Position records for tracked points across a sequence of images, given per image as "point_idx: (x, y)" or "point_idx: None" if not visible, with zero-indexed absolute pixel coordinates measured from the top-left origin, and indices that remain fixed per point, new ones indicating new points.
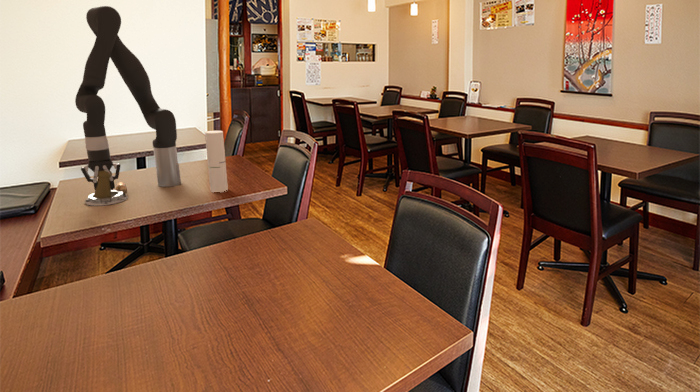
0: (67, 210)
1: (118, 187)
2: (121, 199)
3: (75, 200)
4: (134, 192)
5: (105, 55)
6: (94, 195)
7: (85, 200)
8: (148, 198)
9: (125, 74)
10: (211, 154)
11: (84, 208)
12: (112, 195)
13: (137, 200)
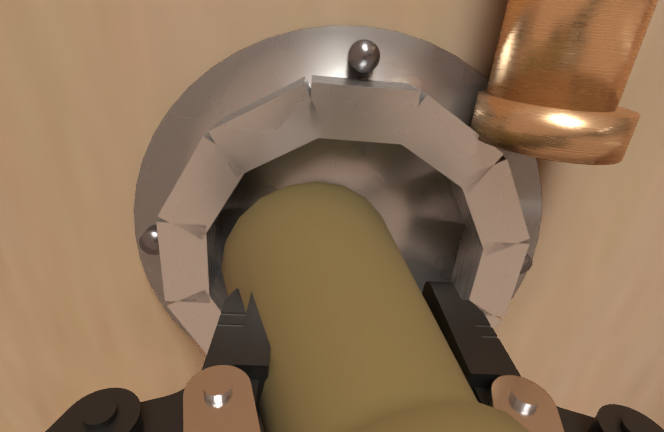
0: (38, 362)
1: (534, 152)
2: None
3: (8, 69)
4: (657, 81)
5: None
6: (227, 294)
7: (137, 203)
8: (645, 346)
9: None
10: None
11: (165, 370)
12: (412, 154)
13: (557, 357)
